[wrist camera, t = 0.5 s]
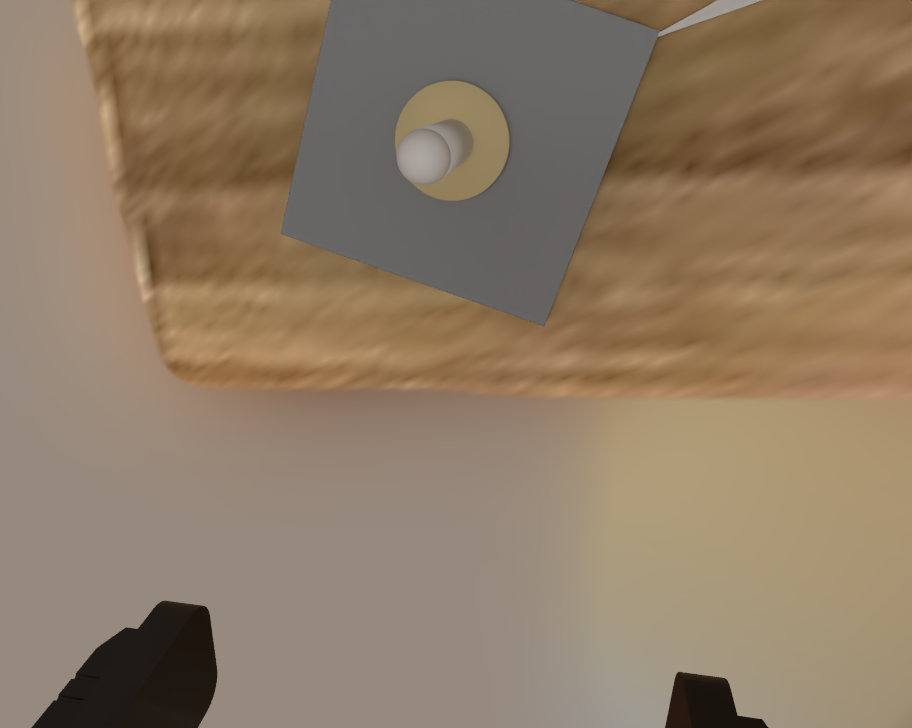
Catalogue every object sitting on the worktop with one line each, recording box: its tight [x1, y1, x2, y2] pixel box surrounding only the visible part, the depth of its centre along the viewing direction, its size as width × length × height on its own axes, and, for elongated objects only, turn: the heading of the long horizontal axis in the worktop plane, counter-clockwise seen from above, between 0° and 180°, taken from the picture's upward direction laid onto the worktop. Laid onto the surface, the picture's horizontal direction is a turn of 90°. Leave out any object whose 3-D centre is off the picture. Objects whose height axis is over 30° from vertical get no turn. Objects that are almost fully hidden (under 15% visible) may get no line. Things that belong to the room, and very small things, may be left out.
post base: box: [281, 0, 660, 326], centre depth 30 cm, size 14×14×10 cm
